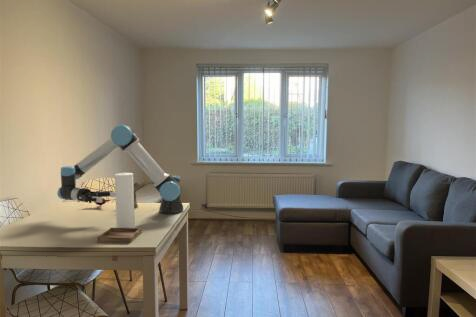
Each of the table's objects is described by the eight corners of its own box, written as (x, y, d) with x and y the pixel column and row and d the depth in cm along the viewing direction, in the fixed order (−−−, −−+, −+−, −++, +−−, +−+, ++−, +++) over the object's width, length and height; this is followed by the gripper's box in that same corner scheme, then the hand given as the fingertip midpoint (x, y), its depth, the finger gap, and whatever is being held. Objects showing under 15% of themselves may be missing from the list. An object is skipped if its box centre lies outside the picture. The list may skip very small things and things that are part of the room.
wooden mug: (130, 211, 236) (129, 183, 234) (121, 207, 246) (120, 181, 244) (143, 208, 242) (142, 181, 240) (133, 205, 252) (133, 179, 250)
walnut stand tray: (111, 232, 190) (111, 227, 190) (141, 232, 189) (141, 228, 189) (97, 242, 174) (97, 237, 174) (130, 243, 173) (130, 237, 173)
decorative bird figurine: (93, 206, 251) (92, 191, 250) (112, 208, 243) (112, 193, 242) (90, 206, 248) (89, 192, 247) (109, 209, 240) (109, 194, 239)
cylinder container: (124, 231, 192) (122, 174, 189) (112, 228, 197) (110, 173, 194) (138, 227, 200) (136, 172, 197) (126, 224, 205) (124, 171, 202)
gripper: (98, 197, 220) (126, 199, 212) (63, 205, 197) (94, 209, 189) (97, 184, 220) (125, 187, 211) (63, 192, 197) (93, 194, 189)
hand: (111, 197), depth 200 cm, fingers open, 13 cm apart
